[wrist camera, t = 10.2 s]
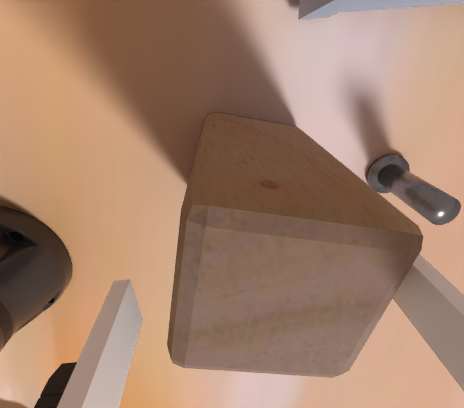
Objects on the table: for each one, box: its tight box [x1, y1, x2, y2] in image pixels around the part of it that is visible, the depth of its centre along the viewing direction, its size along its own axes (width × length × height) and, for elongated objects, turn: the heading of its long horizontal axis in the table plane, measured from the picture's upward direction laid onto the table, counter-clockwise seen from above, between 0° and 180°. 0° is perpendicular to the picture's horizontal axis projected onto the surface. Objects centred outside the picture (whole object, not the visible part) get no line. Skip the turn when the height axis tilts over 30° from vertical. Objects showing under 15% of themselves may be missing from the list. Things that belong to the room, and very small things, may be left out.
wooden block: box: [167, 112, 423, 378], centre depth 21 cm, size 10×10×20 cm
